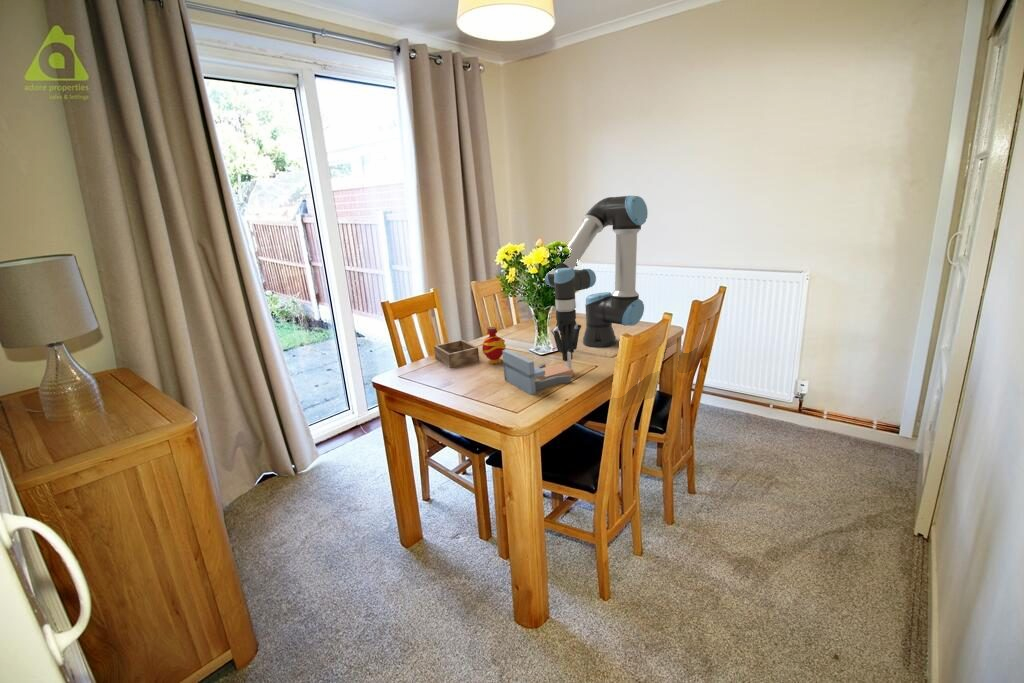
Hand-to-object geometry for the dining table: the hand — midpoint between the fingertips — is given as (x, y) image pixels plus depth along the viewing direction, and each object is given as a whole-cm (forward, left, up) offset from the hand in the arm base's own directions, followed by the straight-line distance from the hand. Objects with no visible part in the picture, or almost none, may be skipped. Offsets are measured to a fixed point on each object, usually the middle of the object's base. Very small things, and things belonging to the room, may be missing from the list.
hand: (567, 368), depth 187 cm
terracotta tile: (+7, 0, -2) cm, 7 cm away
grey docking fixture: (+14, 0, -2) cm, 14 cm away
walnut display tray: (+27, -46, -2) cm, 54 cm away
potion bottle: (+15, -32, -2) cm, 36 cm away
